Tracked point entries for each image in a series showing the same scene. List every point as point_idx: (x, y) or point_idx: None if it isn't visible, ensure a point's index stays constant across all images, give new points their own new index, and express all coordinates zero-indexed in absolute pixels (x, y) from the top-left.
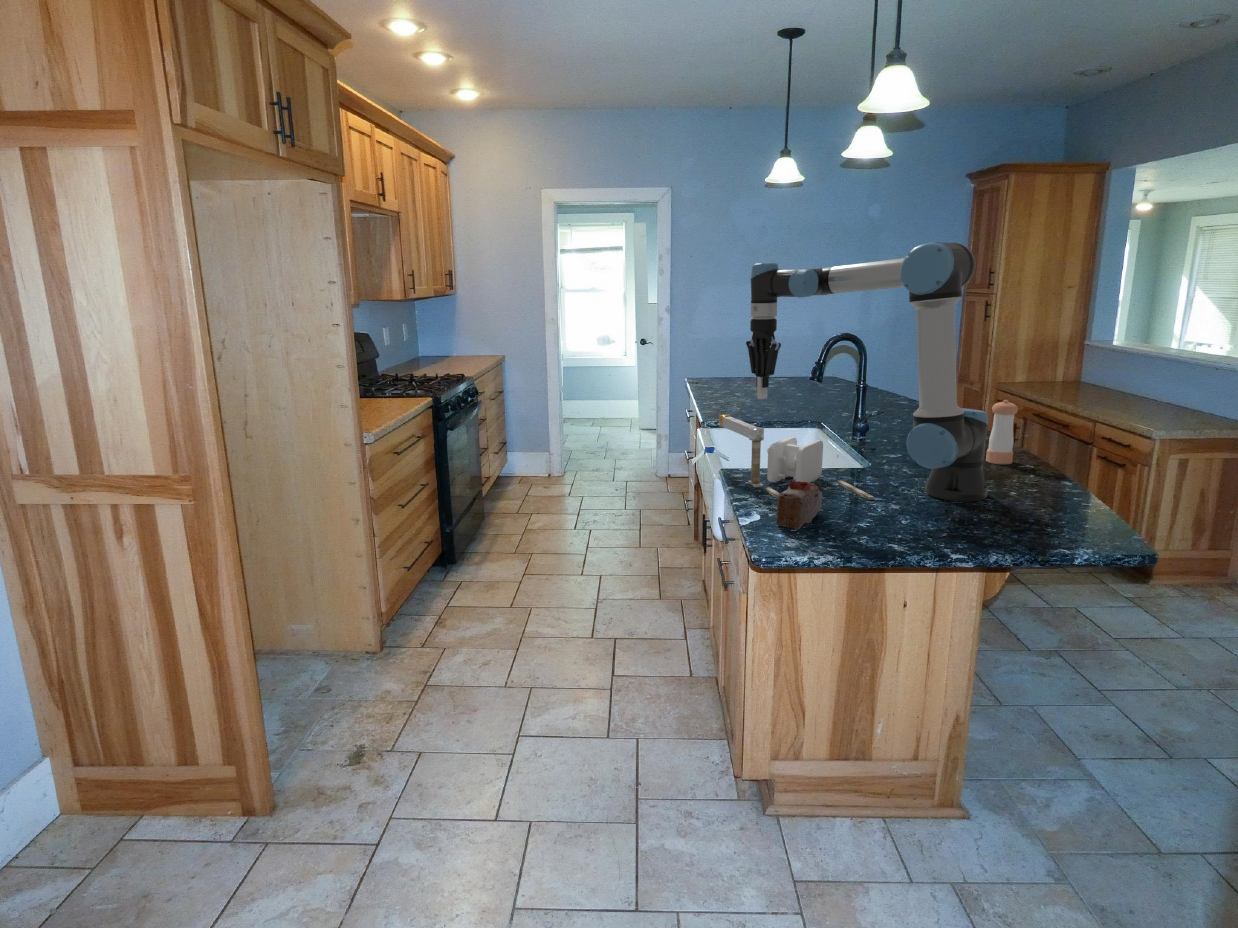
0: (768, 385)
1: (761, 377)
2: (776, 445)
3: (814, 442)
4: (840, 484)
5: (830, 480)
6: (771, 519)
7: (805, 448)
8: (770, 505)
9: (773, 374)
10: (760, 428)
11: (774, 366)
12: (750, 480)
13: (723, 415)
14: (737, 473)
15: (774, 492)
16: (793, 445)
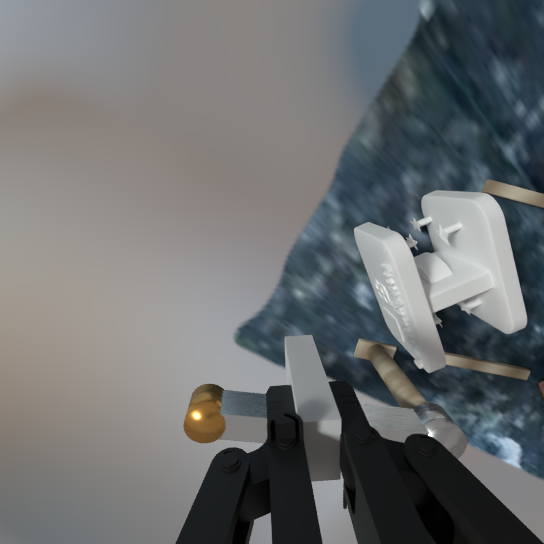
0: (352, 388)
1: (340, 470)
2: (445, 359)
3: (508, 252)
4: (496, 195)
5: (454, 186)
6: (534, 433)
7: (525, 315)
8: (486, 397)
9: (429, 437)
10: (447, 434)
11: (503, 517)
12: (358, 351)
13: (201, 428)
14: (282, 333)
15: (453, 362)
16: (452, 297)
